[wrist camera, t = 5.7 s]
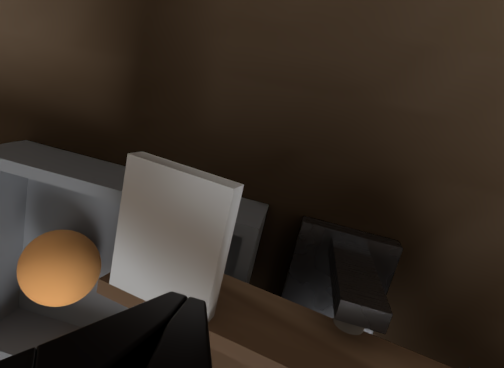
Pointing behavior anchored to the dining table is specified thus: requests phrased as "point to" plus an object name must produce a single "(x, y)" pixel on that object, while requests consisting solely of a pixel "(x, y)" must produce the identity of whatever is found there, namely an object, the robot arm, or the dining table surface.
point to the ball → (58, 268)
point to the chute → (223, 276)
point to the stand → (343, 273)
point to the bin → (80, 220)
